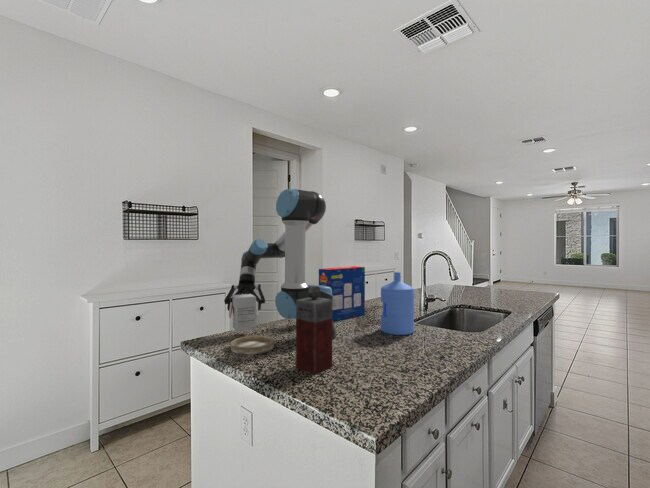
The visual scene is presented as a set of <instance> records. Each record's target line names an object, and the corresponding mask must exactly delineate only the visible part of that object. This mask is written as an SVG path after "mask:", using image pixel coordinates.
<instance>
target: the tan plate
mask: <svg viewBox="0 0 650 488" xmlns="http://www.w3.org/2000/svg"><path fill="white" fill-rule="evenodd" d="M229 343H230V351H231V352H233V353H235V354H238V355H257V354H262V353H267V352H269V351H271V350H273V349H274V347H275V340H274V338H273V337H271V336H270V337H269V336H268V335H248V336H241V337H237V338H234V339H233V340H232V341H230V342H229Z"/></svg>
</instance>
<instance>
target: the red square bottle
mask: <svg viewBox="0 0 650 488" xmlns="http://www.w3.org/2000/svg"><path fill="white" fill-rule="evenodd" d="M320 293H321V290H320V288H319V287H318V286H310V287H309V289H308V296H309V297H310V298H304V299H299V300H297V301H296V318H295V334H296V335H295V368H296V369H298V370H301V371H304V372H306V373H309V374H312V375H318V374H320V373H321V372H325V371H327V370H329V369H332V368H333V339H332V300H330V299H325V298H319V296H320Z"/></svg>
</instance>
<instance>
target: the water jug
mask: <svg viewBox="0 0 650 488" xmlns="http://www.w3.org/2000/svg"><path fill="white" fill-rule="evenodd" d="M401 273H402V272H399V271H396V272H395V271H394V273H393V281H391V282H388V283H387V284H385V285H383V286H381V288H380V302H382V314H381V315H380V331H382V332H383V333H385V334H388V335H393V336H406V335H407V336H408V335H411V334H413V333H414V331H415V326H414V325H415V319H414V317H415V306H414V305H415V300H414V299H415V288H414V287H413V286H411V285H409V284H407V283H405V282H403V281H401V278H402V276H401Z"/></svg>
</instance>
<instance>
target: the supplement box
mask: <svg viewBox="0 0 650 488" xmlns="http://www.w3.org/2000/svg"><path fill="white" fill-rule="evenodd" d="M231 298H232V305H233V308H232V328H233V329H234V330H235V331H236V332H243V331H252V330H257V317H256V304H257V301H256V296H254V295H252V294H242V295H234V294H233V295H232V297H231Z"/></svg>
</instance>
